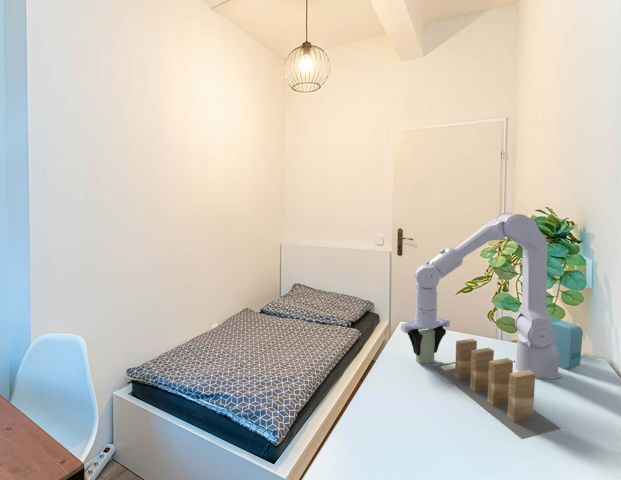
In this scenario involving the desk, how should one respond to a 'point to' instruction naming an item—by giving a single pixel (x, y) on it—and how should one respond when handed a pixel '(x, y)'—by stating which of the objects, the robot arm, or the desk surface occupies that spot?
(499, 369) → the domino
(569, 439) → the desk surface
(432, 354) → the green domino
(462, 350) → the domino
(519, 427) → the board
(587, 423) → the desk surface
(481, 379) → the domino
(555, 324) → the light blue rounded block
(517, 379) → the domino
